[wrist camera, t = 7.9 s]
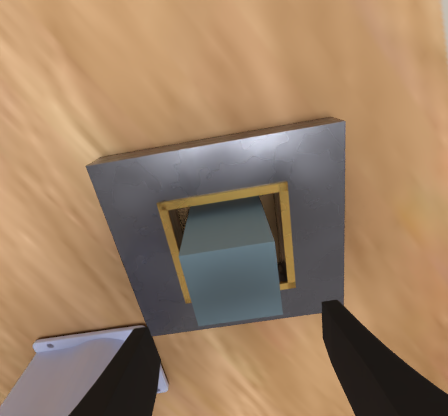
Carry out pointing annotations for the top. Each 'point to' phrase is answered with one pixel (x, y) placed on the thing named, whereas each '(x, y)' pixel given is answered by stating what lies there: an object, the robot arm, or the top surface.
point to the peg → (230, 262)
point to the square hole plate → (223, 191)
